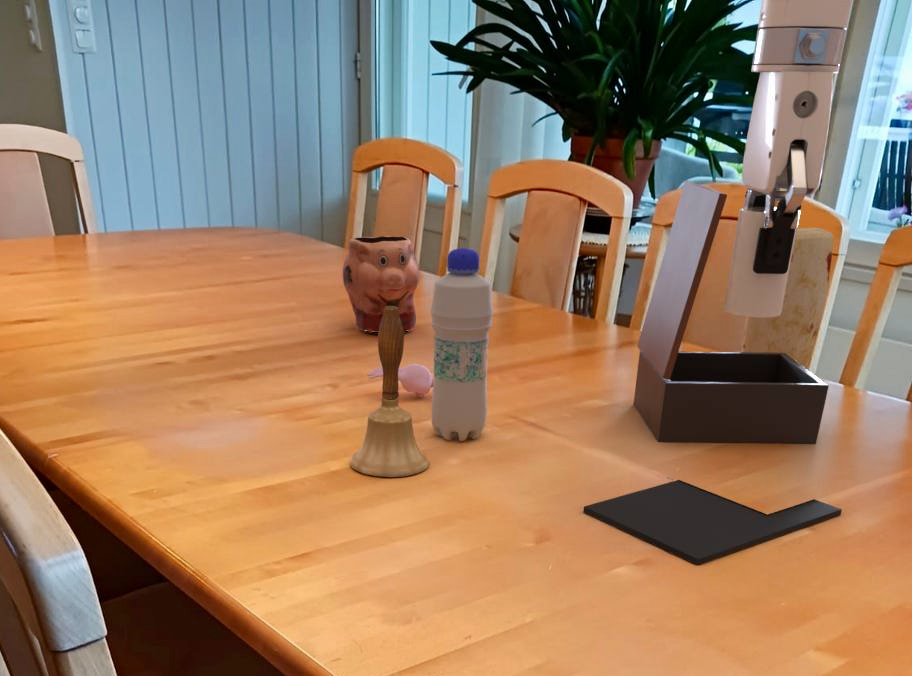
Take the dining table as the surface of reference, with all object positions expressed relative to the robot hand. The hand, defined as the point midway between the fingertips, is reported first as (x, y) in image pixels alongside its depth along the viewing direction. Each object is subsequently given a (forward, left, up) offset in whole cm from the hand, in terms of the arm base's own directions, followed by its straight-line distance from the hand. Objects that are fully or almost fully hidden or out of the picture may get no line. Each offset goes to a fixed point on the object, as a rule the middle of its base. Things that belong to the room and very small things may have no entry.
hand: (760, 265), depth 96 cm
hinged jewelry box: (-7, -7, -20) cm, 22 cm away
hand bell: (+32, -18, -20) cm, 42 cm away
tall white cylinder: (0, 0, -4) cm, 4 cm away
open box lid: (-1, -11, -3) cm, 12 cm away
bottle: (+20, -22, -20) cm, 36 cm away
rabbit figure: (+14, -37, -20) cm, 44 cm away
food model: (-28, -16, -20) cm, 38 cm away
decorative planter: (-3, -74, -20) cm, 77 cm away
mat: (+14, +10, -20) cm, 26 cm away
